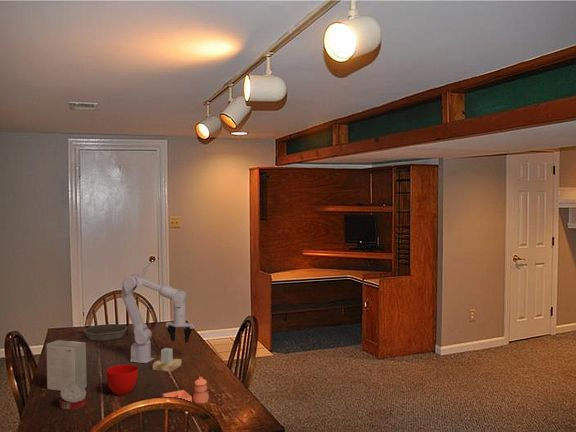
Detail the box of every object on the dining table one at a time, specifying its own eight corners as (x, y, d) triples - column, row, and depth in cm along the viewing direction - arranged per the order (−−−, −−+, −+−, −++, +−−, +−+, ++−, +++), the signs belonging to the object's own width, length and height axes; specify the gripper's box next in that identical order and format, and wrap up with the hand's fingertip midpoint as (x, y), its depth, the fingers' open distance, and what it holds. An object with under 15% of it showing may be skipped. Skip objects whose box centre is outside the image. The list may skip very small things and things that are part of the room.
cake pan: (116, 329, 348) (116, 321, 348) (134, 336, 330) (134, 329, 330) (77, 335, 331) (77, 328, 331) (94, 344, 313) (94, 336, 313)
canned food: (83, 412, 228) (95, 390, 229) (74, 419, 218) (87, 396, 218) (59, 399, 228) (71, 377, 229) (49, 406, 218) (61, 383, 219)
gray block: (161, 362, 269) (161, 350, 269) (165, 359, 273) (165, 347, 273) (168, 363, 268) (168, 350, 268) (172, 360, 272) (172, 348, 272)
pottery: (169, 412, 217) (169, 387, 216) (162, 404, 225) (162, 380, 224) (212, 403, 226) (212, 379, 225) (204, 395, 234) (203, 372, 234)
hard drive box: (87, 387, 243) (86, 342, 242) (75, 393, 236) (74, 347, 235) (58, 383, 248) (58, 339, 247) (46, 389, 241) (45, 343, 240)
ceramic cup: (121, 382, 249) (121, 360, 248) (144, 391, 238) (144, 368, 238) (95, 390, 239) (95, 367, 238) (118, 400, 228) (117, 376, 228)
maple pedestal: (152, 369, 268) (152, 363, 268) (163, 363, 277) (163, 357, 277) (171, 371, 265) (171, 365, 265) (181, 365, 274) (181, 359, 274)
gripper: (162, 315, 279) (163, 342, 279) (189, 317, 274) (189, 344, 275) (169, 312, 285) (170, 339, 286) (195, 314, 281) (195, 341, 282)
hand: (179, 341), depth 281 cm, fingers open, 7 cm apart
